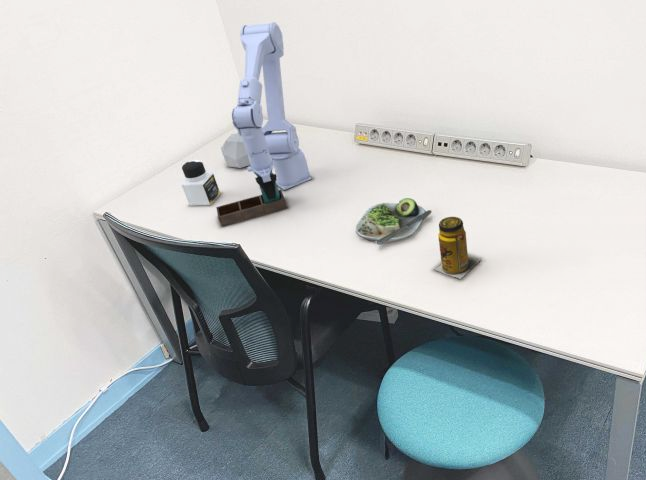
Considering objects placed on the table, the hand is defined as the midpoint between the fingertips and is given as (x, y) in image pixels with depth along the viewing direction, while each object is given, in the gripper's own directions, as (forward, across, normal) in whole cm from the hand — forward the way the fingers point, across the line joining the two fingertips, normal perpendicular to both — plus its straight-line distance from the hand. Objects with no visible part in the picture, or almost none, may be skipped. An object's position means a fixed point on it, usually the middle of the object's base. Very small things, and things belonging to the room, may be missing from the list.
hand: (270, 194), depth 170 cm
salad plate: (+4, +27, +27) cm, 39 cm away
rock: (+4, -38, -1) cm, 38 cm away
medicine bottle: (+4, -16, -19) cm, 25 cm away
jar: (+2, 0, 0) cm, 2 cm away
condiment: (+4, +52, +35) cm, 63 cm away
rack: (+4, 0, -6) cm, 7 cm away
